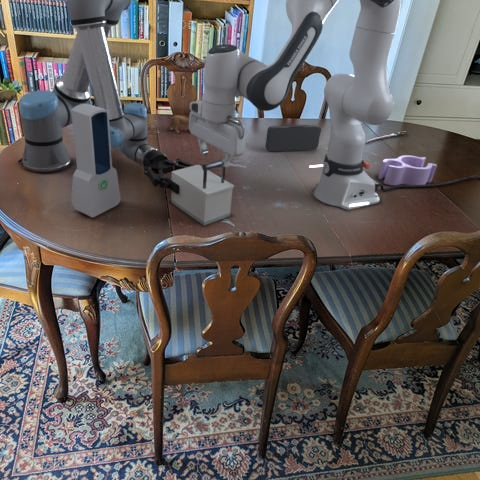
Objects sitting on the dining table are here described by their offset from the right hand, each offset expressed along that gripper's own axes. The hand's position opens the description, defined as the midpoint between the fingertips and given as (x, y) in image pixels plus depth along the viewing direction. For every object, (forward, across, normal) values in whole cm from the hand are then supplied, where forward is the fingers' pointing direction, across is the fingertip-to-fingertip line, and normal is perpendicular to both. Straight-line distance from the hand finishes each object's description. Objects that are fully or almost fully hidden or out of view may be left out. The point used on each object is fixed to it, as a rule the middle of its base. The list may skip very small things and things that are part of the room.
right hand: (214, 159), depth 130 cm
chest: (+18, +5, 0) cm, 19 cm away
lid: (+9, +5, 0) cm, 10 cm away
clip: (+18, -18, -79) cm, 83 cm away
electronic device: (+19, +22, +25) cm, 38 cm away
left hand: (+12, +10, 0) cm, 15 cm away
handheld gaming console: (+18, +24, -62) cm, 69 cm away
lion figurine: (+18, +62, -36) cm, 74 cm away
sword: (+17, +11, -113) cm, 115 cm away
